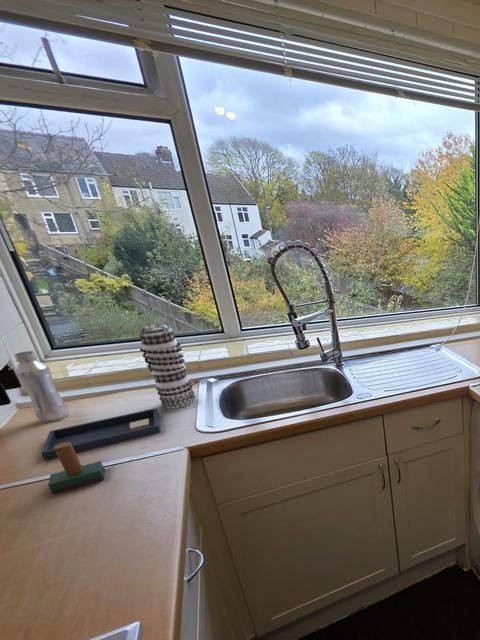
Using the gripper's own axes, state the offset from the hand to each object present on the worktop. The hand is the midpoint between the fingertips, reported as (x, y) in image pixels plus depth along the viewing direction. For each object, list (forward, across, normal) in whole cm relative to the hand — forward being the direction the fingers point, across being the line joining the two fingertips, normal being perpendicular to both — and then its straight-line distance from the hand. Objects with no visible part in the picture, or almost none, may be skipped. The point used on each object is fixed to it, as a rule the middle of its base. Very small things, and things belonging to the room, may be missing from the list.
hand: (4, 396), depth 79 cm
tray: (+22, -22, +8) cm, 32 cm away
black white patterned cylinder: (+22, -34, +24) cm, 47 cm away
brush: (+22, 0, +4) cm, 23 cm away
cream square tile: (+22, -22, +15) cm, 34 cm away
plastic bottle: (+22, -44, -4) cm, 49 cm away
